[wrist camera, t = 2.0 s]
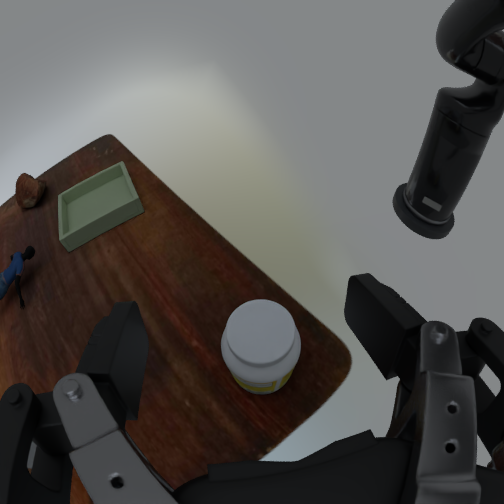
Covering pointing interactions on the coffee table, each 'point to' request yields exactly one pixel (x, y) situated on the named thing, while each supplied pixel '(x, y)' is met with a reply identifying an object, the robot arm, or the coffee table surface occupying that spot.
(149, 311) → the coffee table surface
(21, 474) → the robot arm
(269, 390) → the pill bottle
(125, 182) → the tray
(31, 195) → the fossil
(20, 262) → the person figurine
